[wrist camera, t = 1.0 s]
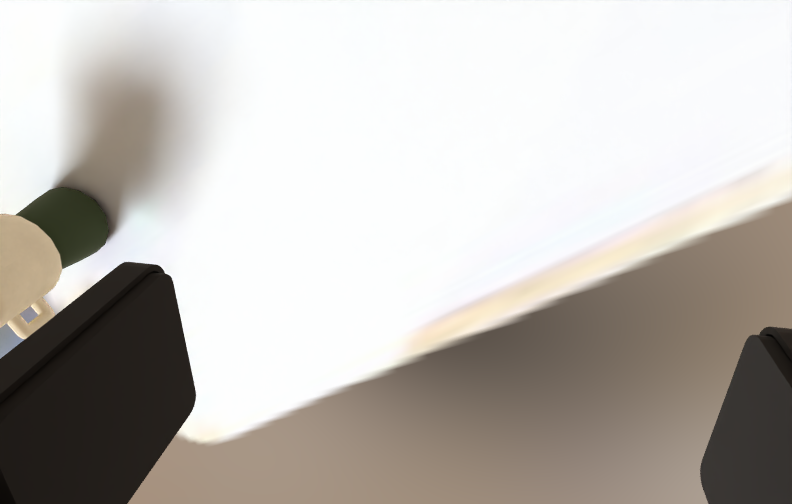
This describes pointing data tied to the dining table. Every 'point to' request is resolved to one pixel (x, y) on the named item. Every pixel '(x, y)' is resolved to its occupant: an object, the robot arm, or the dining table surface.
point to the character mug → (44, 251)
